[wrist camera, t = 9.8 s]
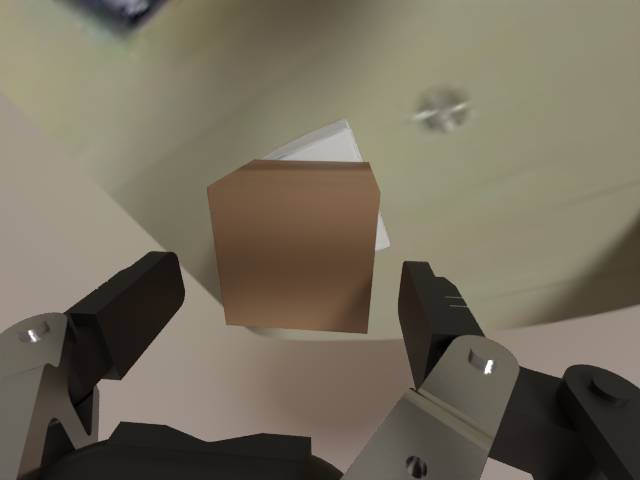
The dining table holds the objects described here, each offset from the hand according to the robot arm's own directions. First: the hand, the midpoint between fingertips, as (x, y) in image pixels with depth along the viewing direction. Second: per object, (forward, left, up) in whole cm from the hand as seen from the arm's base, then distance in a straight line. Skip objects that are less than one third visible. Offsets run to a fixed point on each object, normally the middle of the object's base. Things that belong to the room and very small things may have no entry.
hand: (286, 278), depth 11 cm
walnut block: (0, 0, -7) cm, 7 cm away
